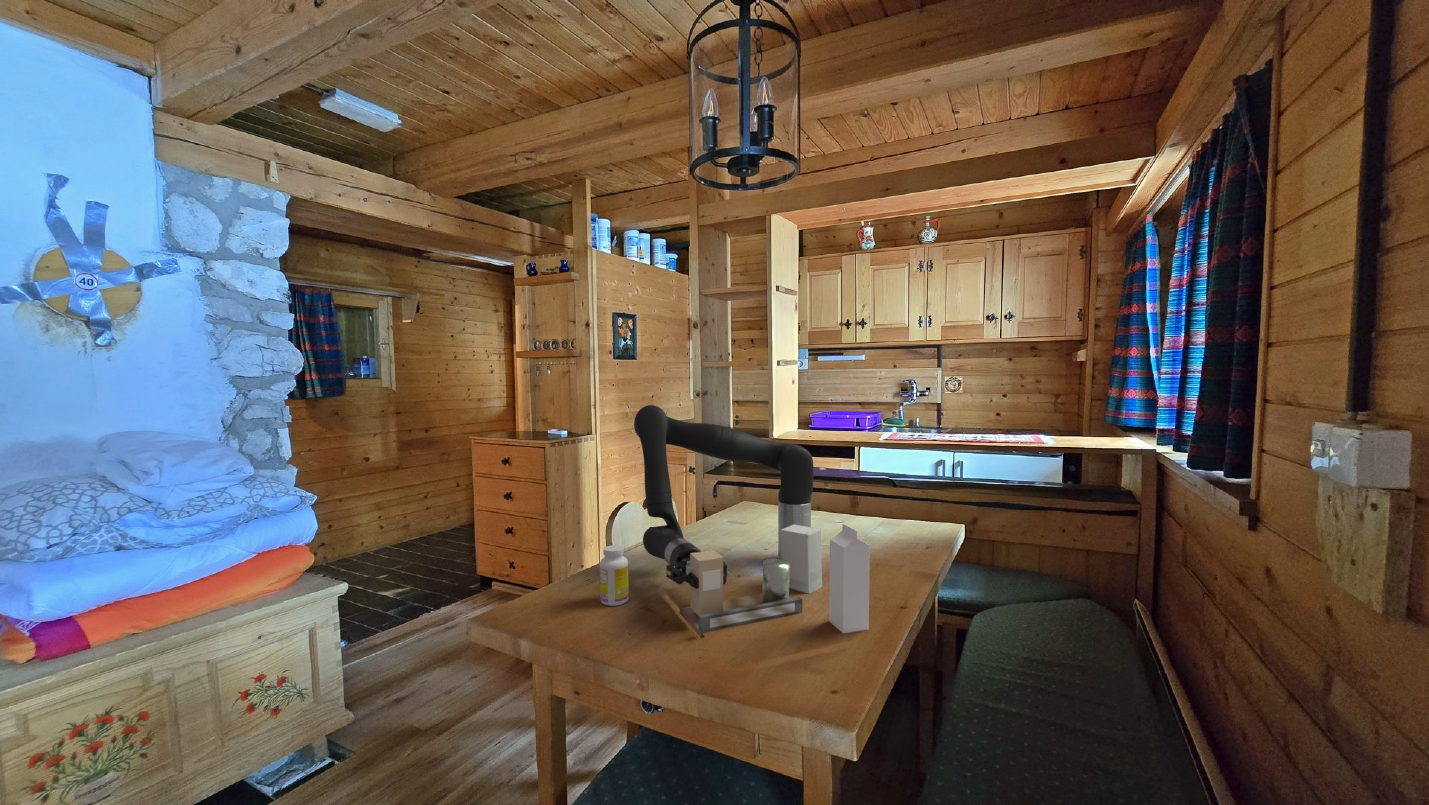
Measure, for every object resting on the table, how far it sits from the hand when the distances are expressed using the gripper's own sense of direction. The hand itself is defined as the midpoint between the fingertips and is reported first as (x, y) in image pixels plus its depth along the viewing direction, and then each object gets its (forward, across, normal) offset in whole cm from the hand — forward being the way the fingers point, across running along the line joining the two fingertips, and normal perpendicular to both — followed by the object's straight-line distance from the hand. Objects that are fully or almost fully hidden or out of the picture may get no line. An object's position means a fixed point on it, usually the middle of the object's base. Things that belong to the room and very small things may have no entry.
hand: (711, 582), depth 121 cm
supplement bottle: (-21, -16, +10) cm, 28 cm away
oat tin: (-1, +16, +8) cm, 18 cm away
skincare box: (-9, +28, +10) cm, 31 cm away
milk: (+13, +26, +10) cm, 31 cm away
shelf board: (-2, +8, +10) cm, 13 cm away
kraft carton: (-3, 0, +7) cm, 7 cm away
